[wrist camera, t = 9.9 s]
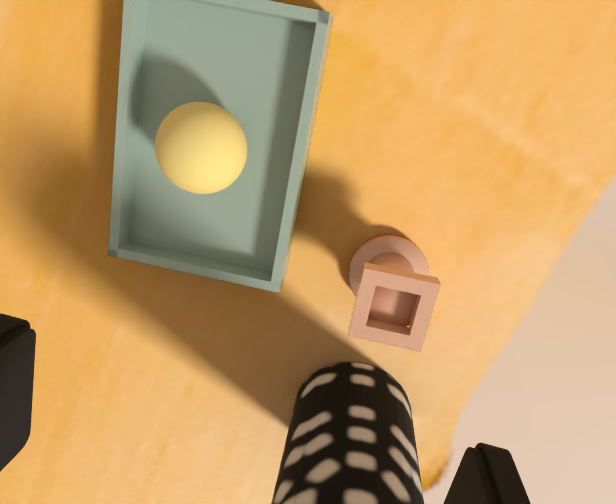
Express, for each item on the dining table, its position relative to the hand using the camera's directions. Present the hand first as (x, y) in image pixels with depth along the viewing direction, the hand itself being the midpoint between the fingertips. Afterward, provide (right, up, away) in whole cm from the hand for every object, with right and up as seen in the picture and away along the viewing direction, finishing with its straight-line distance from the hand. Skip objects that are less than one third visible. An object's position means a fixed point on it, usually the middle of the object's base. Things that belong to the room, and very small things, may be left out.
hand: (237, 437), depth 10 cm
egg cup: (+7, +3, +22) cm, 23 cm away
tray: (-4, +11, +20) cm, 23 cm away
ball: (-4, +10, +19) cm, 23 cm away
